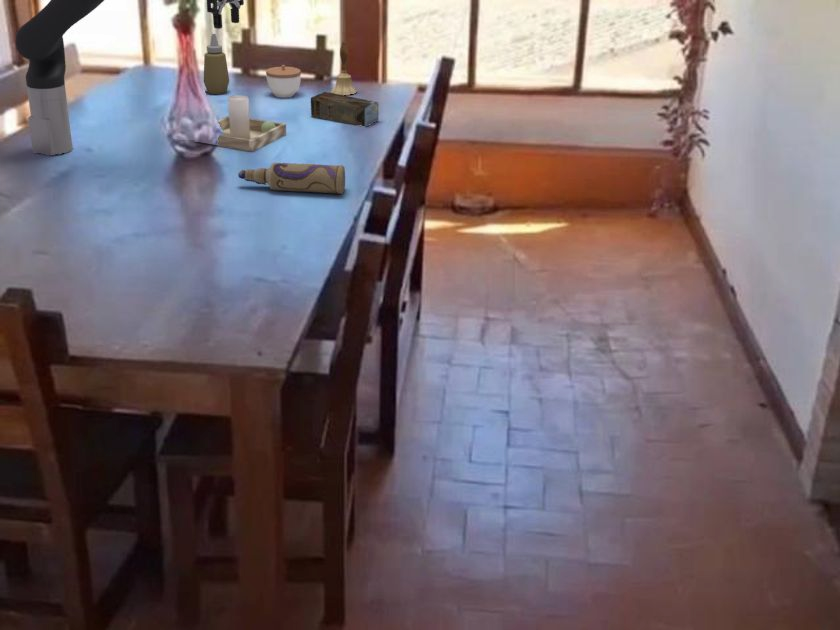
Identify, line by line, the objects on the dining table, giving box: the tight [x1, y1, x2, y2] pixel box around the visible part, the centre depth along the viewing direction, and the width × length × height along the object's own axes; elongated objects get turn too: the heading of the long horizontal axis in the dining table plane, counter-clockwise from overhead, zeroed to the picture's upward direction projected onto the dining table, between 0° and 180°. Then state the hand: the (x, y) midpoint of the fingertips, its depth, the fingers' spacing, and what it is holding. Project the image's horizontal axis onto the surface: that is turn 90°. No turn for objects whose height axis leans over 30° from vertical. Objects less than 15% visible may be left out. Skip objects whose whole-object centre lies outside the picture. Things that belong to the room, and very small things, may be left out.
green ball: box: [261, 120, 276, 133], centre depth 291 cm, size 4×4×4 cm
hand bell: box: [330, 41, 358, 96], centre depth 334 cm, size 8×8×16 cm
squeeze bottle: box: [203, 33, 230, 95], centre depth 330 cm, size 8×8×18 cm
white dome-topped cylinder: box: [227, 94, 250, 139], centre depth 287 cm, size 5×5×11 cm
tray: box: [217, 115, 287, 153], centre depth 289 cm, size 18×18×4 cm
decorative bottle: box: [237, 162, 346, 195], centre depth 254 cm, size 26×8×7 cm, turn 84°
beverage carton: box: [310, 91, 380, 127], centre depth 309 cm, size 8×19×7 cm, turn 61°
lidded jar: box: [265, 64, 302, 99], centre depth 331 cm, size 11×11×9 cm
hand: (226, 25), depth 288 cm, fingers open, 8 cm apart
